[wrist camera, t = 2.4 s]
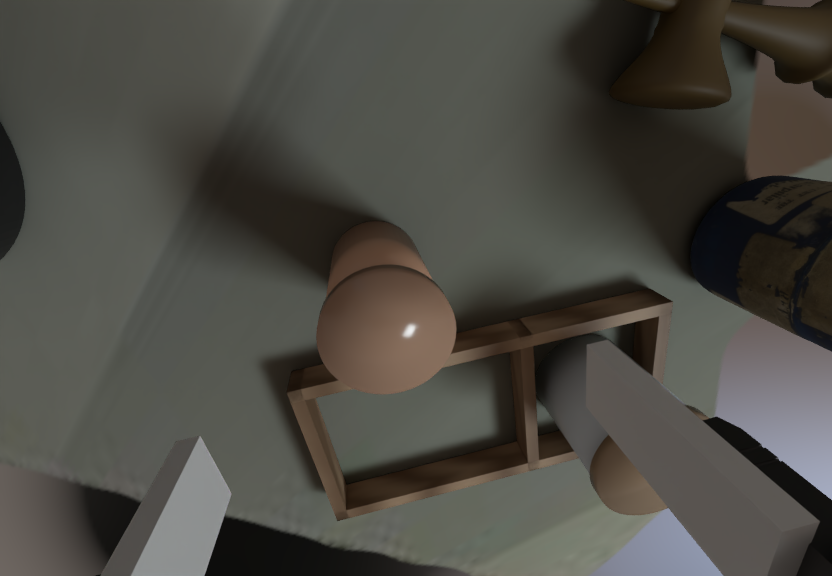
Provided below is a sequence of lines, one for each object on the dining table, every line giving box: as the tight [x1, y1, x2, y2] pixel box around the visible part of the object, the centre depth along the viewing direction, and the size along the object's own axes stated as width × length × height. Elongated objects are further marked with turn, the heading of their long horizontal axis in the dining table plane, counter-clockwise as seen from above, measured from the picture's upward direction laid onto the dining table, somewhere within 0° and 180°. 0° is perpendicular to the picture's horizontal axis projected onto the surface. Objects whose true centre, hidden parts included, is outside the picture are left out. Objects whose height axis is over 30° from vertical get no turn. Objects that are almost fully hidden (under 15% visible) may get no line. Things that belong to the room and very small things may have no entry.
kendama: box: [609, 0, 832, 109], centre depth 22 cm, size 6×10×20 cm
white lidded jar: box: [535, 335, 710, 515], centre depth 29 cm, size 9×9×10 cm
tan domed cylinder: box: [316, 221, 456, 394], centre depth 22 cm, size 6×6×10 cm
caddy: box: [287, 288, 673, 521], centre depth 32 cm, size 29×14×2 cm, turn 100°
